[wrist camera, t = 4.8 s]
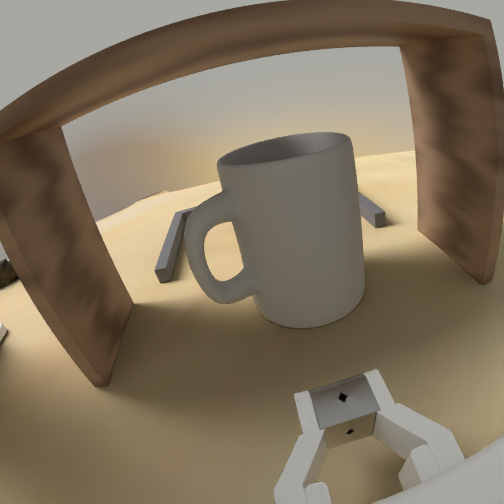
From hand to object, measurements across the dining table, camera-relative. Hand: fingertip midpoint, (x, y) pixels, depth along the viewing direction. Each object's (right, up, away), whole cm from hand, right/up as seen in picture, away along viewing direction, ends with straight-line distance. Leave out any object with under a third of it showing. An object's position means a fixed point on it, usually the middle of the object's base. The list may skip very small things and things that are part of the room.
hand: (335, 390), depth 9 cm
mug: (0, +1, +13) cm, 13 cm away
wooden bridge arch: (0, +1, +13) cm, 13 cm away
